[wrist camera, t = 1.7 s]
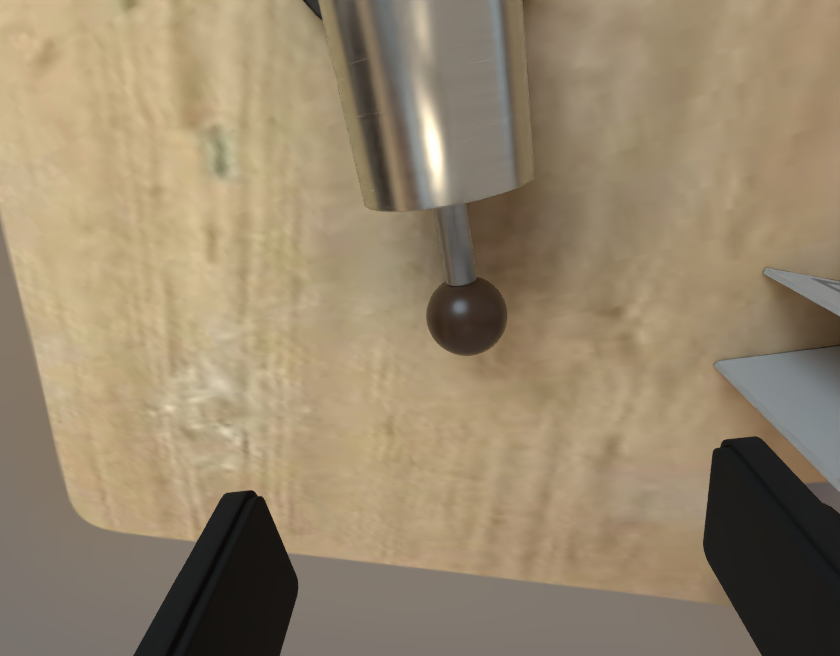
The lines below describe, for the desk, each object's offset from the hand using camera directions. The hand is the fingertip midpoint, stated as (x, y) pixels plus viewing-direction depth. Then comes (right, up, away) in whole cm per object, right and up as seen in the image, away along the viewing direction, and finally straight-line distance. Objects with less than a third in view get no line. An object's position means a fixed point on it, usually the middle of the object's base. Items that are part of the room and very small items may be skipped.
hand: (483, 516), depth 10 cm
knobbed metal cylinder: (-1, +12, +9) cm, 15 cm away
